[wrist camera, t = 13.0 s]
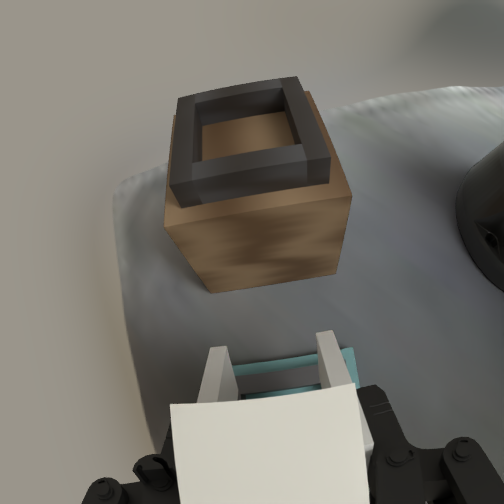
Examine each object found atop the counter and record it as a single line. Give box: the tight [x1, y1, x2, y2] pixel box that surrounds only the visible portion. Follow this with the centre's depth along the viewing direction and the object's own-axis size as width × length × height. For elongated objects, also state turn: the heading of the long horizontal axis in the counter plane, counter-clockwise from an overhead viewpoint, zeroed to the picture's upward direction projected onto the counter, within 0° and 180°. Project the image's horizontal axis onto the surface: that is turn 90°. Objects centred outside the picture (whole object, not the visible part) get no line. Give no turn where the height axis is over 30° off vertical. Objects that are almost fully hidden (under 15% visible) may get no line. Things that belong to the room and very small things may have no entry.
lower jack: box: [232, 347, 360, 401], centre depth 18 cm, size 10×10×3 cm
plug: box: [170, 383, 370, 504], centre depth 10 cm, size 4×4×12 cm
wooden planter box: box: [164, 76, 352, 293], centre depth 22 cm, size 10×10×12 cm
